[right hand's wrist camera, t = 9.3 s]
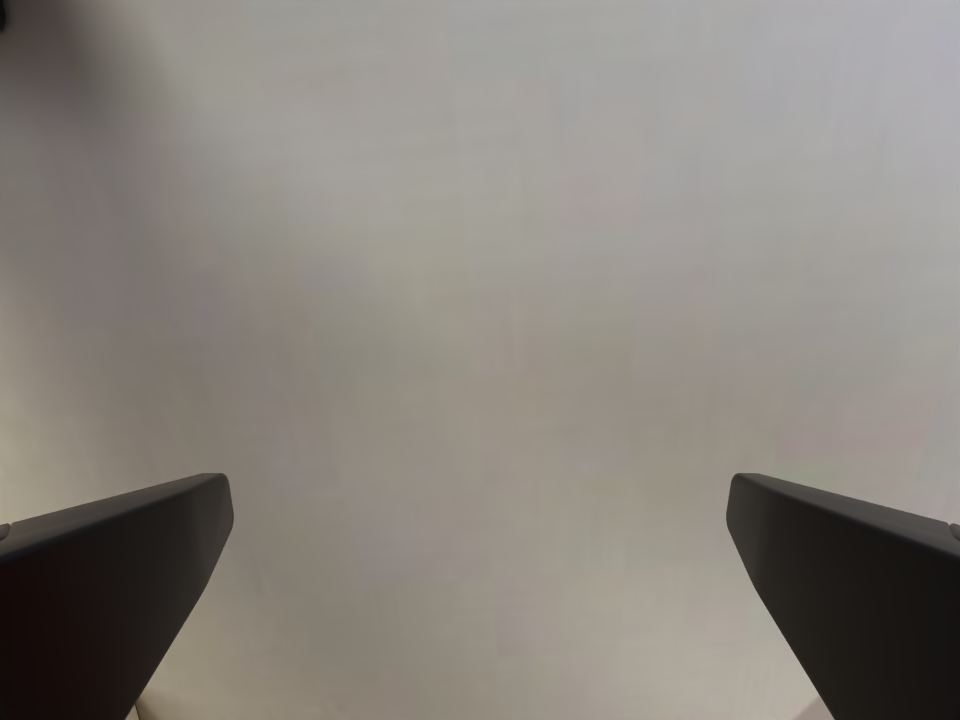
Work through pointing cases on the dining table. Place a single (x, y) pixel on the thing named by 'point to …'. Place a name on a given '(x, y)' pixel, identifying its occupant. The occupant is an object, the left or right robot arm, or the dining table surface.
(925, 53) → the dining table surface
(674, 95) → the dining table surface
